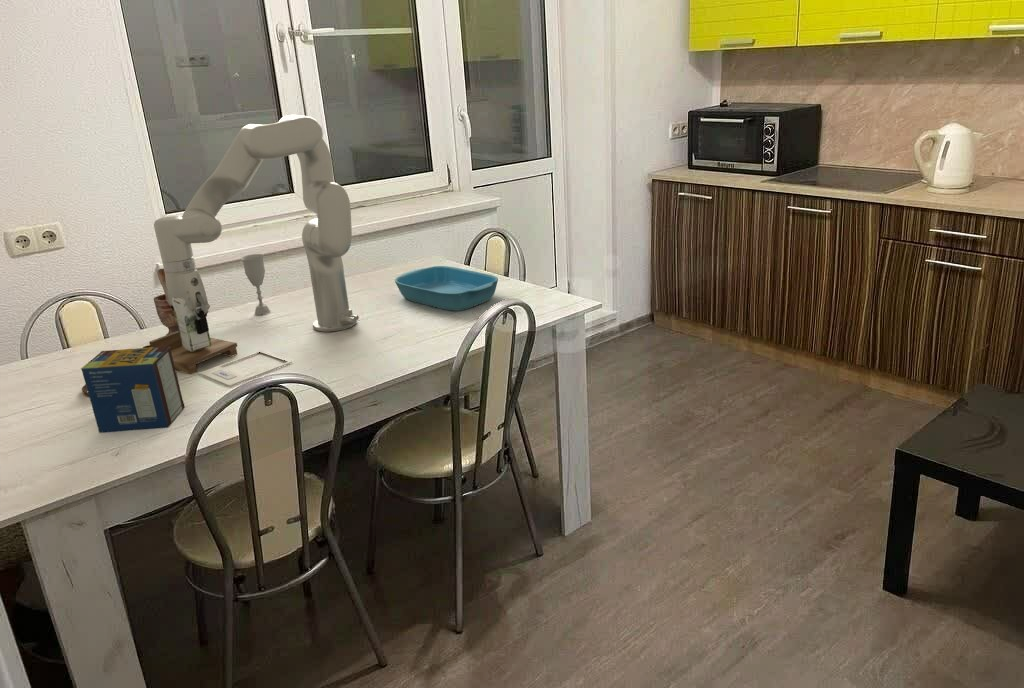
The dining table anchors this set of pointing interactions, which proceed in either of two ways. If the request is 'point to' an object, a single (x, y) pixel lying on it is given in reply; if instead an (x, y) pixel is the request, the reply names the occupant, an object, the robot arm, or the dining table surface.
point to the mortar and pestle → (165, 306)
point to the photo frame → (231, 377)
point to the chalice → (256, 277)
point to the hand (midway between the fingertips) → (194, 330)
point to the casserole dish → (447, 287)
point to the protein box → (133, 389)
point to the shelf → (188, 359)
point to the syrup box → (189, 327)
